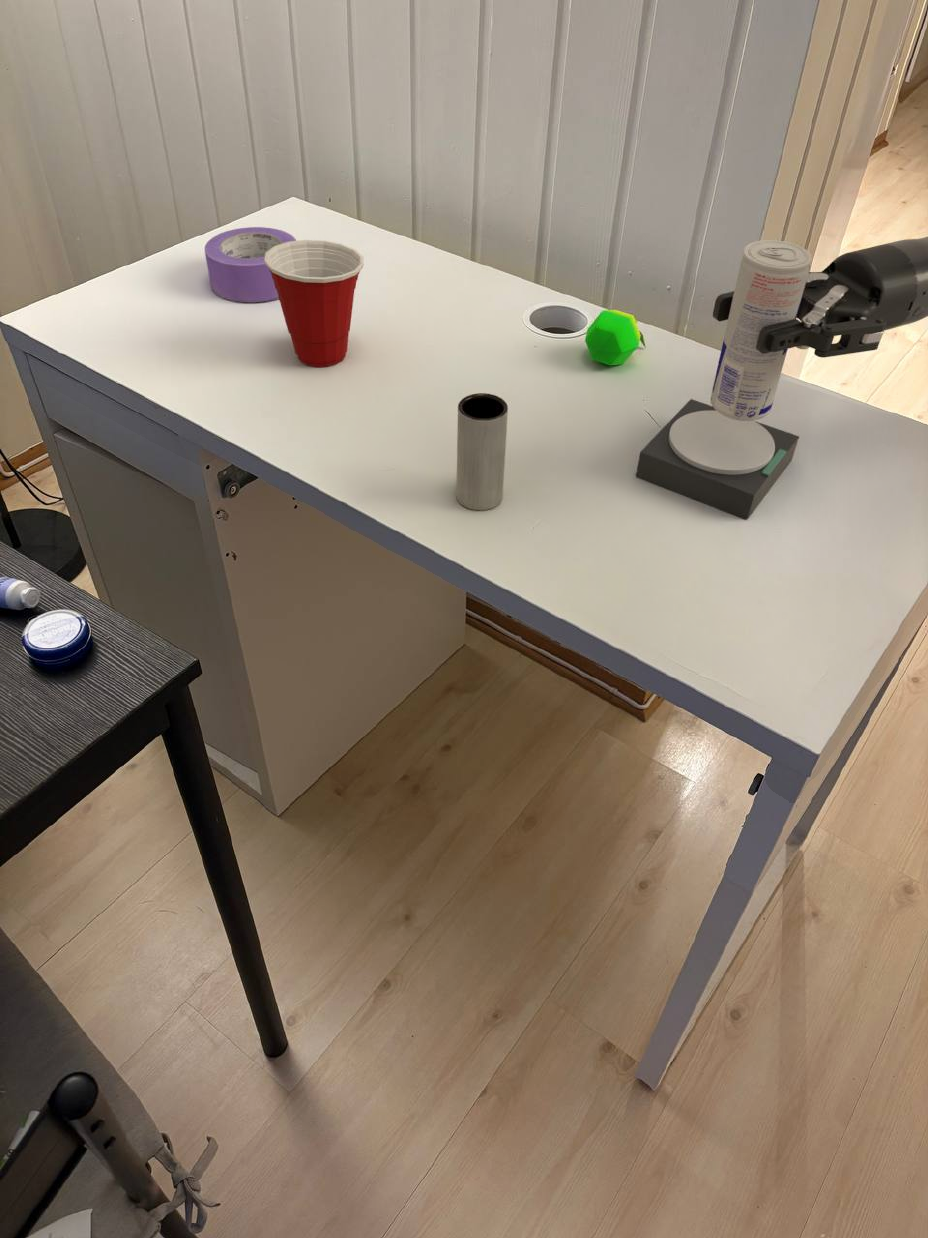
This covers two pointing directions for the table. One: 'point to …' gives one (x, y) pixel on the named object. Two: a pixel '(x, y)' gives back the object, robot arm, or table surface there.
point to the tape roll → (243, 263)
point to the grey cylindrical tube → (481, 450)
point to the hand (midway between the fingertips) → (738, 324)
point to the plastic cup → (316, 296)
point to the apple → (613, 337)
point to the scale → (717, 458)
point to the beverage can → (758, 327)
